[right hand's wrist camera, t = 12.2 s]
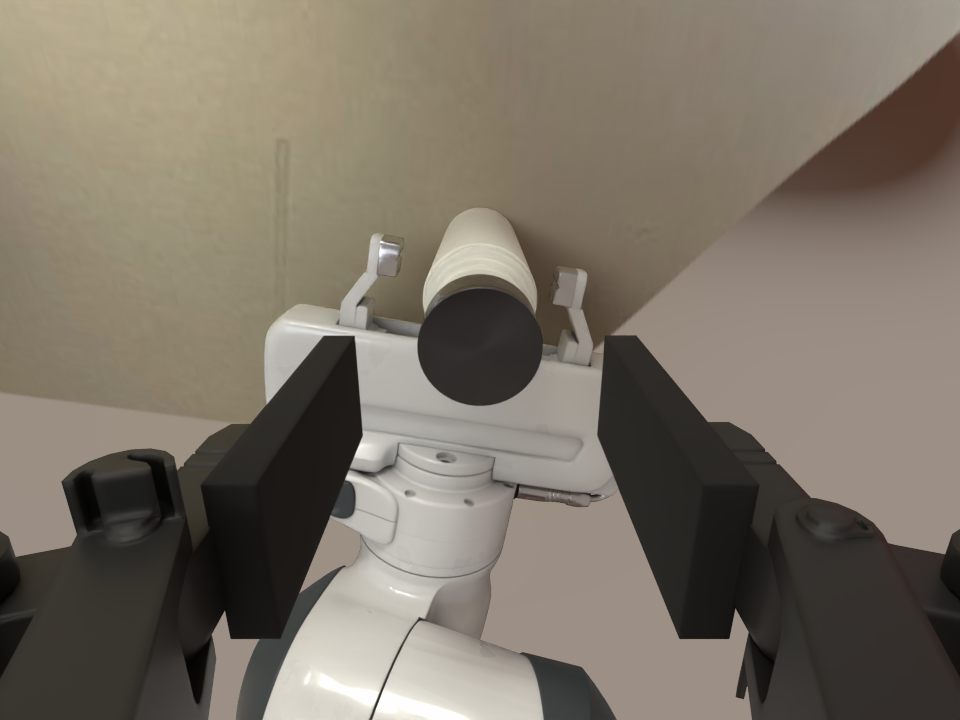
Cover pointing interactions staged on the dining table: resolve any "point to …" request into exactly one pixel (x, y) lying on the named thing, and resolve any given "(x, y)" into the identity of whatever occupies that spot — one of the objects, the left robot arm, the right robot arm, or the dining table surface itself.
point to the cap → (479, 340)
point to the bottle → (480, 254)
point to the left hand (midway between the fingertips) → (480, 252)
